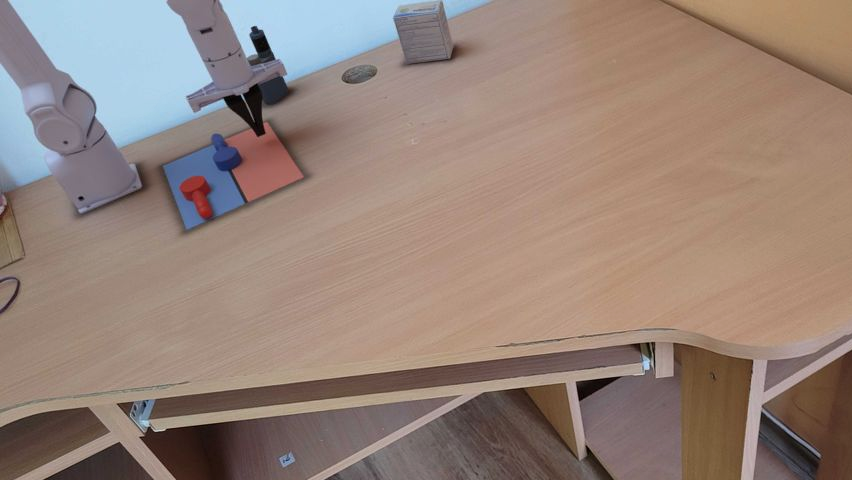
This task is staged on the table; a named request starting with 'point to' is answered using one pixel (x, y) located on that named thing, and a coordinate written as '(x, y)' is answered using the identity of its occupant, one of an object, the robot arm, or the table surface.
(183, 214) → the sorting mat
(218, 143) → the blue spoon
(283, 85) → the vaping device
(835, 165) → the table surface
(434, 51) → the medicine box
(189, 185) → the red spoon
